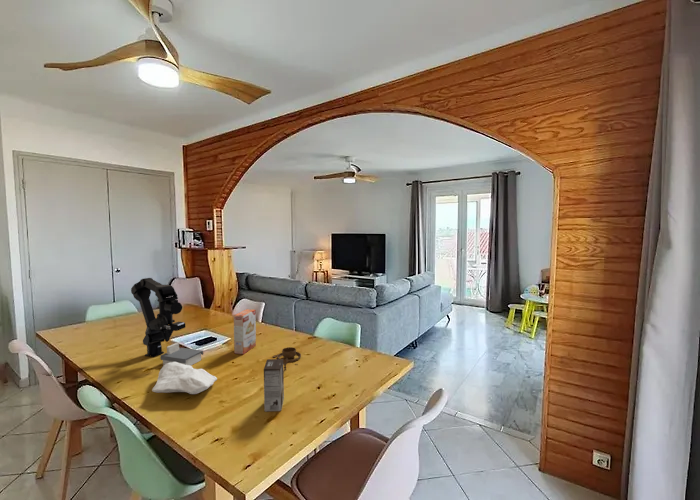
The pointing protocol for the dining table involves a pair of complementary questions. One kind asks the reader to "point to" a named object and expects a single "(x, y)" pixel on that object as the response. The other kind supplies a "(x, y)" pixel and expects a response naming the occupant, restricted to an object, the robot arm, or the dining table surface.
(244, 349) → the cracker box
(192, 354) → the lid
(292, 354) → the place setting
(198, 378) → the crumpled cloth
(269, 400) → the coffee box
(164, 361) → the tray
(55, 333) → the dining table surface
